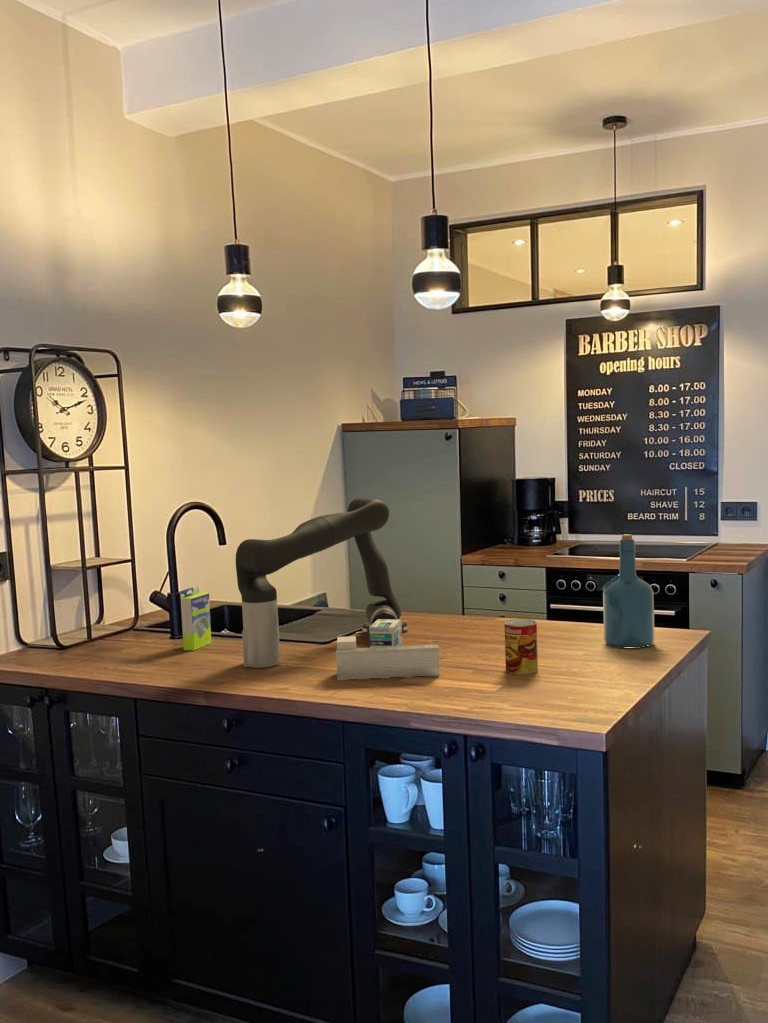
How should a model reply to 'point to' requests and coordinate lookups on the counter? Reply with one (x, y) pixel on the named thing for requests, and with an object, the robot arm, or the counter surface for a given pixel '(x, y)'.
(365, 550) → the robot arm
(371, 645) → the light bulb box
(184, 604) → the box
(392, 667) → the rail
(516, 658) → the canned food
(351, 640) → the block
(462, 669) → the counter surface
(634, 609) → the wine bottle
